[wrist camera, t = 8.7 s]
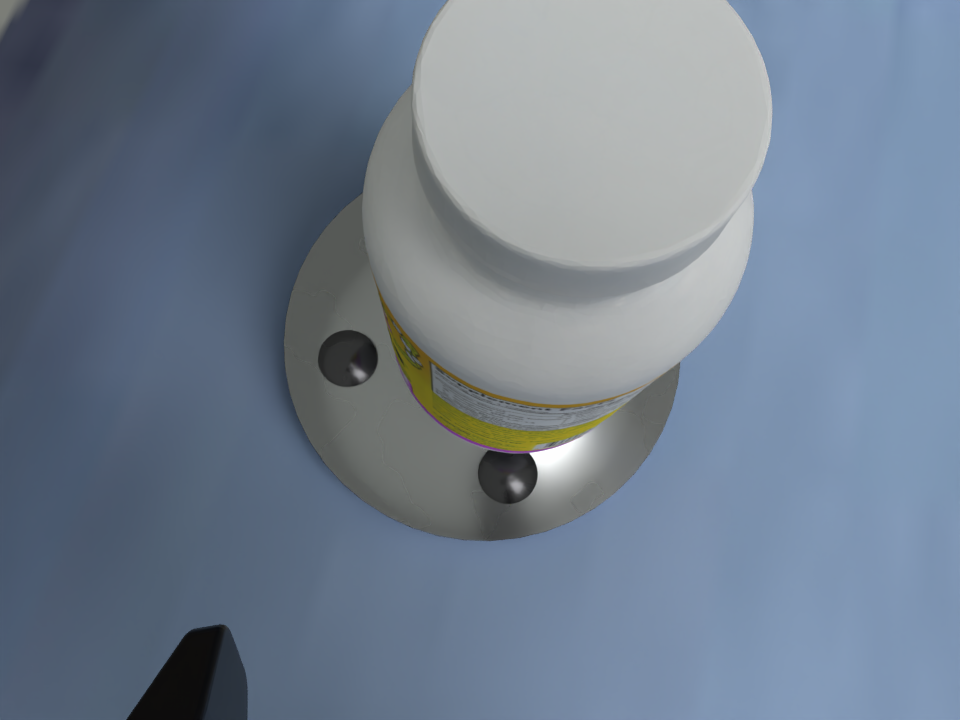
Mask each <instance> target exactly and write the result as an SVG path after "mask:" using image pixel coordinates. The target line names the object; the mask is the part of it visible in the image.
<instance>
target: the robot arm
mask: <svg viewBox="0 0 960 720" xmlns="http://www.w3.org/2000/svg"><path fill="white" fill-rule="evenodd" d="M247 706H248V690H247V679H246V673H245V669H244V666H243V664H242V661H241V658H240V656H239V653H238V650H237V647H236V645H235V642H234V639H233V637H232V634H231V632H230V630H229V628H228V627H227V626H226V625H221V624H219V625H213V626H207V627H202V628H196V629H193V630H191V631H189V632H188V633H187V634H186V635H185V636H184V637H183V639H182V640H181V642H180V643H179V645H178V646H177V647H176V649H175V650H174V652H173V653H172V655H171V656H170V658H169V659H168V660H167V662H166V663H165V665H164V666H163V668H162V669H161V671H160V672H159V673H158V675H157V676H156V678H155V679H154V681H153V682H152V683H151V685H150V686H149V688H148V689H147V691H146V692H145V694H144V695H143V696H142V698H141V699H140V701H139V702H138V704H137V705H136V707H135V708H134V709H133V711H132V712H131V714H130V715H129V717H128V718H127V720H247Z"/></svg>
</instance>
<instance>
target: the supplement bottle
mask: <svg viewBox="0 0 960 720" xmlns="http://www.w3.org/2000/svg"><path fill="white" fill-rule="evenodd" d="M771 124H772V98H771V90H770V83H769V79H768V75H767V71H766V68H765V64H764V61H763V58H762V56H761V53H760V51H759V49H758V47H757V45H756V43H755V41H754V38H753V37H752V35H751V33H750V32H749V30H748V28H747V27H746V25H745V24H744V22H743V21H742V19H741V18H740V17H739V15H738V14H737V13H736V11H735V10H734V9H733V8H732V7H731V6H730V4H729V3H728V2H727V1H726V0H448V1H447V2H446V3H445V4H444V5H443V7H442V8H441V9H440V10H439V12H438V13H437V15H436V17H435V18H434V20H433V22H432V23H431V25H430V27H429V28H428V30H427V32H426V34H425V36H424V38H423V41H422V44H421V47H420V50H419V53H418V56H417V59H416V63H415V67H414V71H413V80H412V84H411V86H410V87H409V88H408V89H407V90H406V91H405V93H404V94H403V95H402V96H401V97H400V99H399V100H398V102H397V103H396V105H395V106H394V108H393V109H392V111H391V112H390V114H389V115H388V117H387V118H386V120H385V122H384V124H383V126H382V128H381V130H380V132H379V134H378V136H377V139H376V141H375V144H374V147H373V149H372V152H371V155H370V158H369V162H368V166H367V170H366V175H365V181H364V188H363V201H362V221H363V230H364V238H365V244H366V249H367V253H368V258H369V262H370V267H371V271H372V274H373V277H374V280H375V283H376V287H377V290H378V294H379V298H380V301H381V305H382V308H383V312H384V316H385V320H386V323H387V328H388V331H389V335H390V339H391V342H392V346H393V349H394V353H395V357H396V360H397V363H398V366H399V369H400V372H401V374H402V376H403V378H404V380H405V382H406V385H407V387H408V389H409V391H410V392H411V394H412V396H413V397H414V399H415V400H416V402H417V403H418V404H419V405H420V407H421V408H422V409H423V410H424V411H425V413H426V414H427V415H428V416H429V417H430V418H431V419H432V420H433V421H434V422H436V423H437V424H438V425H439V426H440V427H442V428H443V429H444V430H446V431H447V432H449V433H450V434H452V435H453V436H455V437H457V438H459V439H461V440H463V441H465V442H467V443H469V444H472V445H475V446H477V447H480V448H483V449H488V450H492V451H497V452H504V453H534V452H540V451H545V450H549V449H553V448H556V447H559V446H562V445H564V444H567V443H569V442H572V441H573V440H575V439H577V438H580V437H581V436H583V435H585V434H586V433H588V432H590V431H591V430H593V429H594V428H595V427H597V426H598V425H600V424H601V423H602V422H603V421H604V420H606V419H607V418H608V417H610V416H611V415H612V414H614V413H615V412H616V411H617V410H619V409H620V408H621V407H622V406H623V405H625V404H626V403H627V402H628V401H630V400H631V399H632V398H633V397H635V396H636V395H637V394H638V393H640V392H641V391H642V390H643V389H645V388H646V387H647V386H649V385H650V384H651V383H652V382H654V381H655V380H656V379H658V378H659V377H660V376H662V375H663V374H664V373H666V372H667V371H668V370H670V369H671V368H673V367H674V366H675V365H676V364H678V363H679V362H680V361H681V360H682V359H684V358H685V357H686V356H687V355H688V354H689V353H691V352H692V351H693V350H694V349H695V348H696V347H697V346H698V345H699V344H700V343H701V342H702V341H703V340H704V339H705V338H706V337H707V335H708V334H709V333H710V332H711V331H712V330H713V328H714V327H715V326H716V325H717V323H718V322H719V321H720V319H721V317H722V316H723V314H724V313H725V311H726V309H727V308H728V306H729V305H730V303H731V301H732V299H733V297H734V295H735V293H736V291H737V289H738V287H739V284H740V281H741V279H742V276H743V273H744V271H745V268H746V265H747V261H748V257H749V252H750V247H751V242H752V233H753V223H754V205H753V196H752V188H753V186H754V184H755V182H756V180H757V178H758V176H759V173H760V171H761V169H762V167H763V163H764V160H765V156H766V153H767V150H768V146H769V143H770V136H771Z"/></svg>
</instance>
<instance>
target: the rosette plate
mask: <svg viewBox="0 0 960 720" xmlns="http://www.w3.org/2000/svg"><path fill="white" fill-rule="evenodd" d="M362 201H363V193H362V194H360V195H359V196H358V197H357V198H356V199H354V200H353V201H352V202H351V203H350V204H348V205H347V206H346V207H345V208H343V210H342V211H341V212H340V213H339V214H338V215H337V216H336V217H335V218H334V219H333V220H332V221H331V222H330V223H329V225H328V226H327V227H326V228H325V229H324V231H323V232H322V234H321V235H320V236H319V238H318V239H317V241H316V242H315V243H314V245H313V246H312V248H311V250H310V252H309V254H308V255H307V257H306V259H305V261H304V263H303V265H302V267H301V269H300V271H299V274H298V276H297V279H296V282H295V285H294V287H293V290H292V293H291V297H290V302H289V306H288V310H287V315H286V323H285V335H284V355H285V370H286V375H287V380H288V386H289V391H290V395H291V398H292V401H293V404H294V407H295V410H296V413H297V416H298V418H299V420H300V423H301V425H302V427H303V429H304V431H305V433H306V435H307V437H308V439H309V441H310V442H311V444H312V445H313V447H314V448H315V450H316V451H317V453H318V454H319V456H320V457H321V459H322V460H323V462H324V463H325V464H326V465H327V466H328V468H329V469H330V470H331V471H332V472H333V473H334V474H335V475H336V476H337V478H338V479H339V480H340V481H341V482H342V483H343V484H344V485H345V486H346V487H348V488H349V489H350V490H351V491H352V492H353V493H355V494H356V495H357V496H358V497H359V498H361V499H362V500H363V501H364V502H366V503H367V504H369V505H371V506H372V507H374V508H375V509H377V510H378V511H380V512H381V513H383V514H385V515H386V516H388V517H390V518H392V519H394V520H396V521H398V522H400V523H403V524H405V525H407V526H409V527H411V528H414V529H417V530H420V531H423V532H427V533H430V534H433V535H436V536H441V537H447V538H453V539H459V540H473V541H495V540H505V539H515V538H521V537H525V536H529V535H533V534H537V533H541V532H545V531H548V530H551V529H553V528H556V527H558V526H561V525H563V524H566V523H569V522H571V521H573V520H575V519H576V518H578V517H580V516H582V515H584V514H585V513H587V512H589V511H591V510H593V509H594V508H596V507H597V506H598V505H600V504H601V503H602V502H604V501H605V500H606V499H608V498H609V497H610V496H612V495H613V494H614V493H615V492H616V491H617V490H618V489H619V488H621V487H622V486H623V485H624V484H625V483H626V482H627V481H628V480H629V479H630V478H631V477H632V476H633V475H634V473H635V472H636V471H637V470H638V468H639V467H640V466H641V464H642V463H643V462H644V460H645V459H646V458H647V457H648V455H649V454H650V452H651V450H652V449H653V447H654V445H655V443H656V442H657V440H658V438H659V436H660V435H661V433H662V431H663V428H664V426H665V424H666V421H667V419H668V416H669V414H670V411H671V409H672V405H673V401H674V397H675V393H676V389H677V385H678V378H679V369H680V362H679V363H678V364H676V365H675V366H674V367H673V368H671V369H670V370H668V371H667V372H666V373H664V374H663V375H662V376H660V377H659V378H658V379H656V380H655V381H654V382H652V383H651V384H650V385H649V386H647V387H646V388H645V389H643V390H642V391H641V392H640V393H638V394H637V395H636V396H635V397H633V398H632V399H631V400H630V401H628V402H627V403H626V404H625V405H623V406H622V407H621V408H620V409H619V410H617V411H616V412H615V413H614V414H612V415H611V416H610V417H608V418H607V419H606V420H604V421H603V422H602V423H601V424H600V425H598V426H597V427H595V428H594V429H593V430H591V431H590V432H588V433H586V434H585V435H583V436H581V437H580V438H577V439H575V440H573V441H572V442H569V443H567V444H564V445H562V446H559V447H556V448H553V449H549V450H545V451H540V452H534V453H504V452H497V451H492V450H488V449H483V448H480V447H477V446H475V445H472V444H469V443H467V442H465V441H463V440H461V439H459V438H457V437H455V436H453V435H452V434H450V433H449V432H447V431H446V430H444V429H443V428H442V427H440V426H439V425H438V424H437V423H436V422H434V421H433V420H432V419H431V418H430V417H429V416H428V415H427V414H426V413H425V411H424V410H423V409H422V408H421V407H420V405H419V404H418V403H417V402H416V400H415V399H414V397H413V396H412V394H411V392H410V391H409V389H408V387H407V385H406V382H405V380H404V378H403V376H402V374H401V372H400V369H399V366H398V363H397V360H396V357H395V353H394V349H393V346H392V342H391V339H390V335H389V331H388V328H387V323H386V320H385V316H384V312H383V308H382V305H381V301H380V298H379V294H378V290H377V287H376V283H375V280H374V277H373V274H372V271H371V267H370V262H369V258H368V253H367V249H366V244H365V238H364V230H363V221H362Z"/></svg>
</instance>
